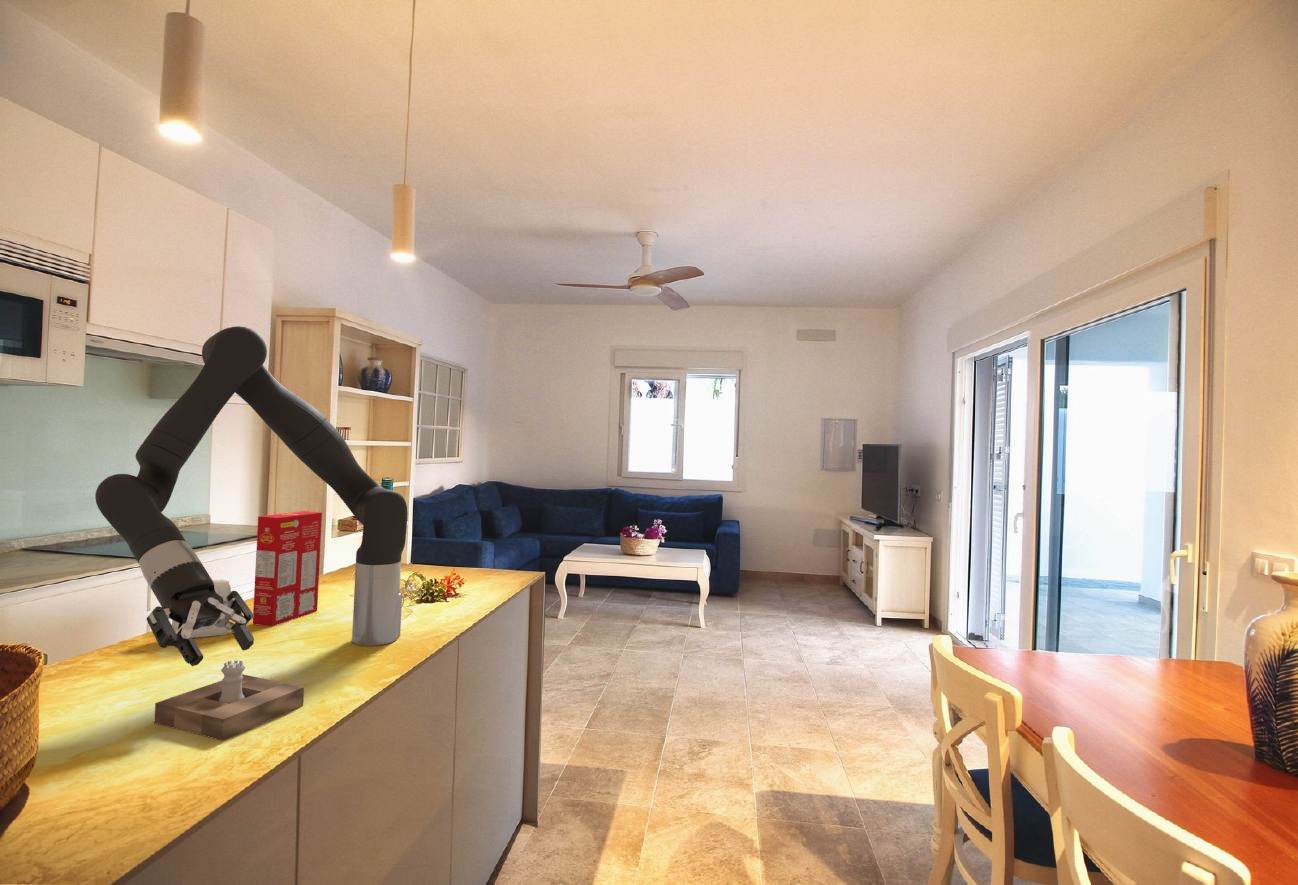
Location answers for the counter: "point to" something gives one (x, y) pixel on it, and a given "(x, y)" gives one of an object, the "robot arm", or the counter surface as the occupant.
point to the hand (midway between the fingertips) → (224, 654)
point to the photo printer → (222, 590)
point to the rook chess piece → (232, 682)
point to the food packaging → (287, 567)
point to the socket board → (228, 707)
